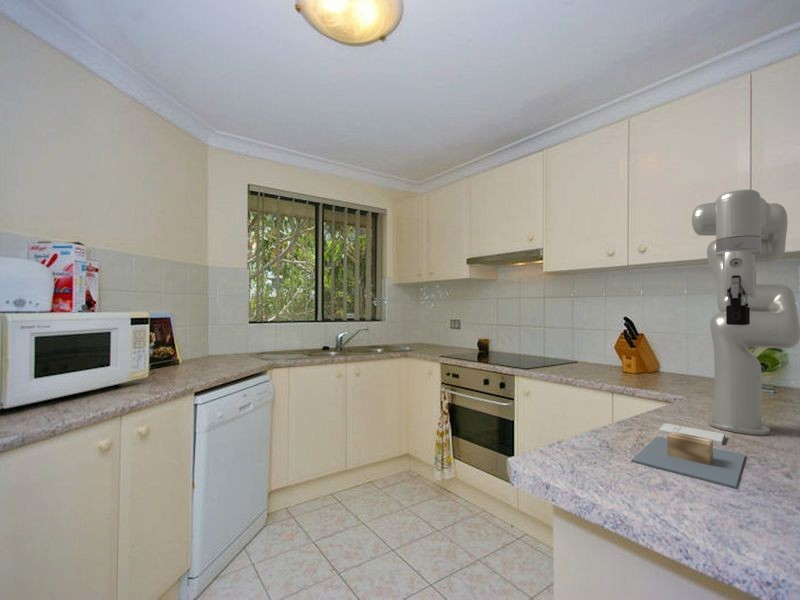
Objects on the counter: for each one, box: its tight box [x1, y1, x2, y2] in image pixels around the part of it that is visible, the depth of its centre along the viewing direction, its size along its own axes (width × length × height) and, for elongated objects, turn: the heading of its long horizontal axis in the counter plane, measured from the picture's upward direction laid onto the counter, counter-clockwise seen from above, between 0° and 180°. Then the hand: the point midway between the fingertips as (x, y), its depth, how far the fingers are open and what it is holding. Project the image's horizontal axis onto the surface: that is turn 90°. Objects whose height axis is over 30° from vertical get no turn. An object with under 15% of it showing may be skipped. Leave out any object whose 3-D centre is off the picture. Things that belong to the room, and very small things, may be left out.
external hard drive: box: [658, 422, 726, 446], centre depth 96 cm, size 2×8×12 cm
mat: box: [631, 436, 746, 489], centre depth 80 cm, size 22×16×1 cm
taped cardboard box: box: [666, 431, 714, 465], centre depth 80 cm, size 7×5×4 cm
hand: (738, 324), depth 84 cm, fingers open, 9 cm apart
